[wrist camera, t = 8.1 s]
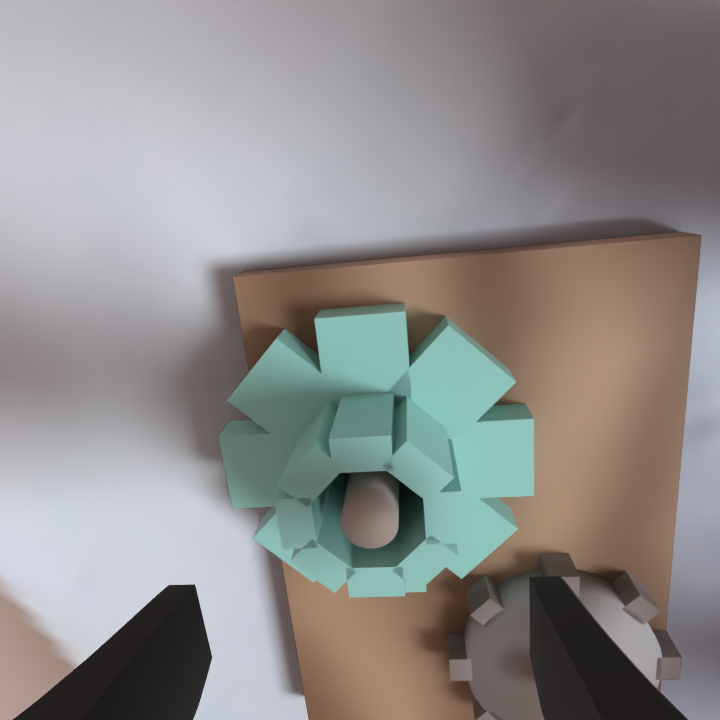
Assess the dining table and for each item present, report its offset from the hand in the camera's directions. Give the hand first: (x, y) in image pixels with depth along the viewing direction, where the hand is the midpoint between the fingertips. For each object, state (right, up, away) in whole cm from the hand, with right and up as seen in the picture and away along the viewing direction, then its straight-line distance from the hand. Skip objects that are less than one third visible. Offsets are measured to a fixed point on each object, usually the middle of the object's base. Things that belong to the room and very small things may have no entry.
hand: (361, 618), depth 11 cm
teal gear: (+1, +3, +7) cm, 7 cm away
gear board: (+4, 0, +9) cm, 10 cm away
